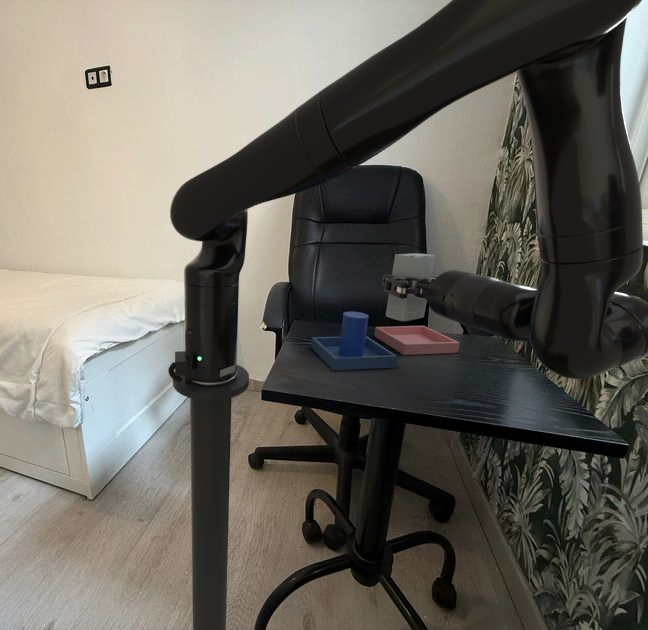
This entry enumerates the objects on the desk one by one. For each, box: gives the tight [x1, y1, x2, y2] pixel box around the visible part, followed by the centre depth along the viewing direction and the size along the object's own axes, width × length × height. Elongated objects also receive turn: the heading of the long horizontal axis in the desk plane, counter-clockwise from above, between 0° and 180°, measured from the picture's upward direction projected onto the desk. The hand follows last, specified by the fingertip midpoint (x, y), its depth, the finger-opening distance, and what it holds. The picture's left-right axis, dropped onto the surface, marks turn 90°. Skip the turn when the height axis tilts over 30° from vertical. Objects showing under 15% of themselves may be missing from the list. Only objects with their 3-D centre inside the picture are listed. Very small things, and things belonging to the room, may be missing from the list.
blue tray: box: [310, 335, 398, 371], centre depth 76 cm, size 13×12×2 cm
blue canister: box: [339, 311, 370, 357], centre depth 75 cm, size 5×5×9 cm
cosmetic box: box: [385, 252, 436, 322], centre depth 67 cm, size 6×4×12 cm
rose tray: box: [374, 325, 460, 356], centre depth 85 cm, size 13×12×2 cm
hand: (403, 279), depth 68 cm, fingers closed on cosmetic box, 7 cm apart
